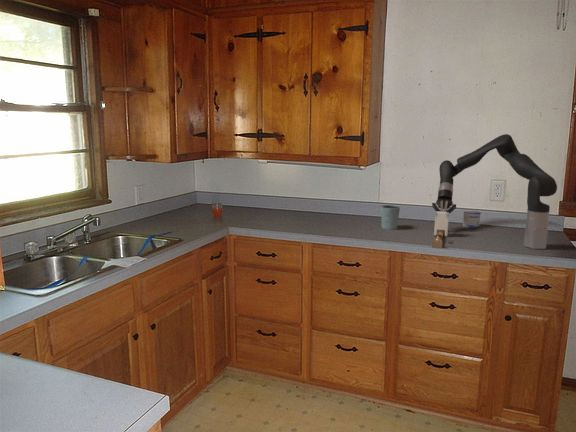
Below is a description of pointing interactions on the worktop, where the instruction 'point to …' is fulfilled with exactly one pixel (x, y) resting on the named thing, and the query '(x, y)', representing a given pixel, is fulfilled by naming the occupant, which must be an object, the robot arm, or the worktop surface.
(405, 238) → the worktop surface
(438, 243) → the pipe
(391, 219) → the grey-green cup
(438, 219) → the beige rectangular block
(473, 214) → the medicine box
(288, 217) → the worktop surface
